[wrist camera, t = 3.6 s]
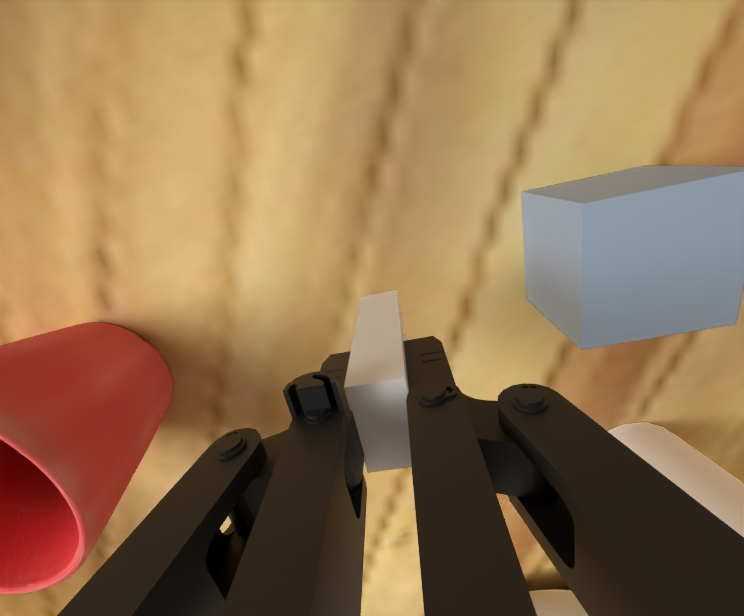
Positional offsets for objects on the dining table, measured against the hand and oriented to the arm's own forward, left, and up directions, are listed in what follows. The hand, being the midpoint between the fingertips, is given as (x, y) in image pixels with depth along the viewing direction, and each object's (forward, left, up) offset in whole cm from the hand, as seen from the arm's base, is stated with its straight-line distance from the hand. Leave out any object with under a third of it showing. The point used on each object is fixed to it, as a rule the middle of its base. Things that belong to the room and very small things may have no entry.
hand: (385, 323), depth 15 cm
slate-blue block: (0, +11, -6) cm, 12 cm away
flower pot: (+3, -18, -6) cm, 19 cm away
